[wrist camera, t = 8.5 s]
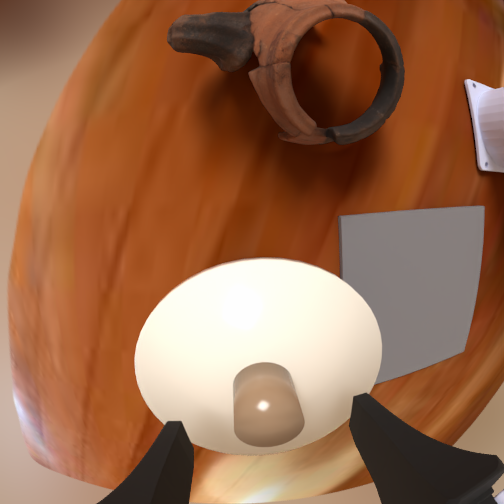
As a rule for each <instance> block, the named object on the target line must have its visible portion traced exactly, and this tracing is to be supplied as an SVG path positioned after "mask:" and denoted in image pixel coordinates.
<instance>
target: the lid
mask: <svg viewBox="0 0 504 504" xmlns="http://www.w3.org/2000/svg"><path fill="white" fill-rule="evenodd" d="M381 359H382V340H381V333H380V330H379V326H378V323H377V320H376V318H375V316H374V314H373V312H372V310H371V308H370V307H369V306H368V304H367V303H366V302H365V300H364V299H363V298H362V297H361V296H360V295H359V294H358V293H357V292H356V291H355V290H354V289H353V288H352V287H351V286H350V285H348V284H347V283H346V282H345V281H343V280H342V279H340V278H339V277H337V276H336V275H334V274H333V273H331V272H329V271H327V270H325V269H322V268H320V267H318V266H315V265H312V264H309V263H306V262H302V261H298V260H292V259H286V258H274V257H258V258H247V259H239V260H235V261H231V262H226V263H222V264H219V265H216V266H214V267H211V268H208V269H205V270H203V271H201V272H199V273H197V274H195V275H193V276H191V277H189V278H188V279H186V280H185V281H183V282H182V283H180V284H179V285H178V286H176V287H175V288H173V289H172V290H171V291H170V292H169V293H168V294H167V295H166V296H165V297H164V298H163V299H162V300H161V301H160V302H159V303H158V305H157V306H156V307H155V309H154V310H153V311H152V313H151V314H150V316H149V318H148V319H147V321H146V323H145V325H144V327H143V329H142V331H141V333H140V336H139V339H138V342H137V345H136V352H135V373H136V378H137V383H138V386H139V389H140V391H141V394H142V396H143V398H144V400H145V402H146V403H147V405H148V407H149V408H150V409H151V411H152V412H153V413H154V414H155V416H156V417H157V418H158V419H159V420H160V421H161V422H162V423H163V424H164V425H165V424H166V422H167V421H182V423H183V426H184V428H185V430H186V432H187V435H188V437H189V439H190V441H191V442H192V443H194V444H196V445H198V446H201V447H204V448H207V449H210V450H213V451H217V452H221V453H227V454H234V455H248V456H251V455H268V454H276V453H281V452H286V451H290V450H293V449H296V448H300V447H302V446H305V445H307V444H310V443H312V442H315V441H316V440H318V439H320V438H322V437H324V436H326V435H328V434H329V433H331V432H332V431H334V430H335V429H337V428H338V427H339V426H341V425H342V424H343V423H344V422H346V421H347V420H348V419H349V418H350V416H351V409H352V402H353V396H356V395H359V394H363V393H368V394H369V393H370V391H371V389H372V387H373V385H374V383H375V381H376V378H377V375H378V372H379V369H380V364H381Z"/></svg>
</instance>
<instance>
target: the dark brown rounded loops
mask: <svg viewBox="0 0 504 504" xmlns="http://www.w3.org/2000/svg"><path fill="white" fill-rule="evenodd" d="M331 18H344V19H348V20H351V21H354V22H357V23H359V24H360V25H362V26H363V27H365V28H366V29H367V30H368V31H369V32H370V33H371V34H372V36H373V37H374V39H375V40H376V42H377V44H378V46H379V48H380V50H381V54H382V58H383V63H382V64H381V65H380V71H381V82H380V87H379V89H378V92H377V94H376V96H375V98H374V101H373V103H372V105H371V106H370V107H369V108H368V109H367V110H366V112H365V113H364V114H363V115H362V116H360V117H359V118H358V119H356V120H355V121H353V122H352V123H349V124H346V125H342V126H336V127H329V128H327V129H323V128H319V127H317V124H316V122H315V121H314V120H312V119H311V118H310V117H309V116H308V115H307V114H306V113H305V111H304V110H303V109H302V108H301V106H300V105H299V103H298V101H297V99H296V96H295V93H294V91H293V86H292V80H291V64H290V61H291V59H292V57H293V54H294V51H295V48H296V46H297V45H298V43H299V41H300V40H301V38H302V37H303V35H304V34H305V33H306V32H307V31H308V30H309V29H310V28H312V27H313V26H314V25H316V24H317V23H319V22H321V21H324V20H327V19H331ZM167 42H168V43H169V44H170V46H171V47H172V48H173V49H174V50H175V51H177V52H181V53H192V54H198V55H202V56H205V57H208V58H210V59H212V60H213V61H214V62H215V63H216V64H217V65H218V66H219V68H220V69H221V70H222V71H228V72H234V71H237V70H238V69H240V68H241V67H243V66H244V65H245V64H246V63H247V62H248V61H249V59H250V58H251V56H252V52H254V53H255V55H256V57H257V58H258V61H259V65H260V66H259V67H258V68H256V69H254V70H252V71H250V72H249V73H248V74H249V77H250V80H251V82H252V84H253V86H254V88H255V91H256V92H257V94H258V96H259V98H260V101H261V103H262V104H263V106H264V107H265V108H266V109H267V111H268V112H269V114H270V115H271V116H272V118H273V119H274V120H275V122H276V123H277V124H278V125H279V126H280V127H281V128H282V129H283V130H285V131H286V132H279V133H278V137H279V138H280V139H281V140H284V141H288V142H292V143H297V144H304V145H314V144H326V143H329V142H332V141H334V142H336V143H337V144H339V145H345V144H349V143H353V142H357V141H358V140H360V139H363V138H366V137H368V136H369V135H371V134H373V133H374V132H376V131H377V130H378V129H379V128H380V127H381V126H382V125H383V124H384V123H385V120H386V119H387V118H389V117H390V115H391V114H392V113H393V111H394V110H395V108H396V105H397V103H398V101H399V99H400V97H401V93H402V89H403V85H404V72H405V70H404V66H403V65H404V62H403V58H402V54H401V49H400V46H399V45H398V42H397V40H396V38H395V36H394V35H393V33H392V32H391V30H390V29H389V28H388V27H387V26H386V25H385V24H384V23H383V22H382V21H381V20H380V19H379V18H378V17H376V16H375V15H373V14H372V13H370V12H368V11H364V10H363V9H361V8H359V7H356V6H353V5H350V4H347V2H346V1H344V0H259V1H257V2H255V3H254V4H252V5H251V6H250V7H249V8H247V9H246V10H245V11H244V12H237V13H230V12H213V13H208V14H202V15H183V16H181V17H179V18H178V19H177V20H176V21H175V22H174V23H173V24H172V26H171V27H170V28H169V30H168V36H167Z"/></svg>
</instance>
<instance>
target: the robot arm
mask: <svg viewBox="0 0 504 504" xmlns="http://www.w3.org/2000/svg"><path fill="white" fill-rule="evenodd" d="M465 87H466V91H467V96H468V100H469V105H470V110H471V116H472V122H473V128H474V135H475V143H476V152H477V163H478V167H479V169H480V170H483V171H494V172H503V173H504V87H502V88H498V89H492V88H490V87H488V86H485V85H483V84H480V83H478V82H475V81H472V80H470V79H467V80H465ZM349 427H350V430H351V433H352V436H353V439H354V442H355V445H356V447H357V449H358V451H359V453H360V455H361V457H362V459H363V461H364V463H365V465H366V467H367V469H368V471H369V473H370V475H371V477H372V479H373V481H374V483H375V485H376V488H377V491H378V494H379V497H380V500H381V503H382V504H504V489H503V490H502V491H501V492H500V493H499V494H498V495H496V496H495V497H493V496H492V495H491V494H492V493H493V492H494V490H493V489H492V485H493V484H494V483H495V482H496V481H497V480H498V479H499V478H500V477H501V476H502V474H503V473H504V464H503V463H502V461H501V460H500V459H499V458H498V457H497V455H489V454H481V453H475V452H470V451H466V450H462V449H459V448H456V447H453V446H450V445H447V444H444V443H442V442H439V441H437V440H435V439H433V438H430V437H428V436H426V435H425V434H423V433H421V432H419V431H418V430H416V429H414V428H413V427H411V426H409V425H408V424H406V423H405V422H404V421H402V420H401V419H399V418H398V417H397V416H395V415H394V414H392V413H391V412H390V411H389V410H387V409H386V408H385V407H384V406H382V405H381V404H380V403H379V402H377V401H376V400H375V399H374V398H373V397H372V396H370V395H369V394H368V393H363V394H359V395H356V396H353V402H352V409H351V416H350V423H349ZM193 469H194V448H193V446H192V443H191V441H190V439H189V437H188V435H187V432H186V430H185V428H184V426H183V423H182V421H167V422H166V424H165V425H164V427H163V429H162V430H161V432H160V434H159V435H158V437H157V438H156V440H155V441H154V443H153V445H152V446H151V447H150V449H149V450H148V452H147V453H146V455H145V456H144V457H143V459H142V460H141V461H140V463H139V464H138V465H137V466H136V468H135V469H134V470H133V471H132V472H131V474H130V475H129V476H128V477H127V478H126V479H125V480H124V481H123V482H122V483H121V484H120V485H119V486H118V487H117V488H116V489H115V490H114V491H112V492H111V493H110V494H109V495H108V496H107V497H105V498H104V499H103V500H101V501H100V502H98V503H97V504H189V498H190V491H191V484H192V476H193Z"/></svg>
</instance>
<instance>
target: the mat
mask: <svg viewBox="0 0 504 504" xmlns="http://www.w3.org/2000/svg"><path fill="white" fill-rule="evenodd" d="M338 224H339V248H340V279H342V280H343V281H345V282H346V283H347V284H348V285H350V286H351V287H352V288H353V289H354V290H355V291H356V292H357V293H358V294H359V295H360V296H361V297H362V298H363V299H364V300H365V302H366V303H367V304H368V306H369V307H370V308H371V310H372V312H373V314H374V316H375V318H376V320H377V323H378V326H379V330H380V333H381V340H382V359H381V364H380V369H379V372H378V375H377V378H376V381H375V383H374V385H375V384H378V383H381V382H384V381H388V380H391V379H394V378H397V377H400V376H403V375H406V374H409V373H411V372H414V371H417V370H420V369H422V368H425V367H428V366H430V365H433V364H435V363H438V362H440V361H443V360H445V359H447V358H450V357H452V356H454V355H457V354H459V353H461V352H463V351H464V349H465V345H466V341H467V338H468V334H469V330H470V325H471V321H472V317H473V312H474V307H475V302H476V296H477V290H478V284H479V277H480V269H481V260H482V250H483V236H484V206H465V207H448V208H433V209H418V210H405V211H392V212H380V213H368V214H356V215H345V216H338Z"/></svg>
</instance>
